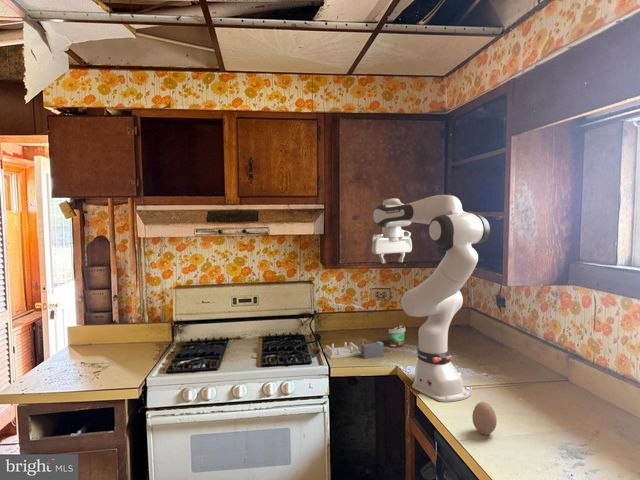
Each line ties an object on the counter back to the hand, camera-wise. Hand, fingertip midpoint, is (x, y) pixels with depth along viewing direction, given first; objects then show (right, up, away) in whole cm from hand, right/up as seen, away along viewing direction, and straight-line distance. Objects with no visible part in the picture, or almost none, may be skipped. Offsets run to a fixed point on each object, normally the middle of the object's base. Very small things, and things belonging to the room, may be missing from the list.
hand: (392, 262), depth 182 cm
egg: (+16, -49, -64) cm, 82 cm away
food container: (+8, -45, +22) cm, 51 cm away
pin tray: (-23, -46, +13) cm, 53 cm away
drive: (-8, -46, +7) cm, 48 cm away
